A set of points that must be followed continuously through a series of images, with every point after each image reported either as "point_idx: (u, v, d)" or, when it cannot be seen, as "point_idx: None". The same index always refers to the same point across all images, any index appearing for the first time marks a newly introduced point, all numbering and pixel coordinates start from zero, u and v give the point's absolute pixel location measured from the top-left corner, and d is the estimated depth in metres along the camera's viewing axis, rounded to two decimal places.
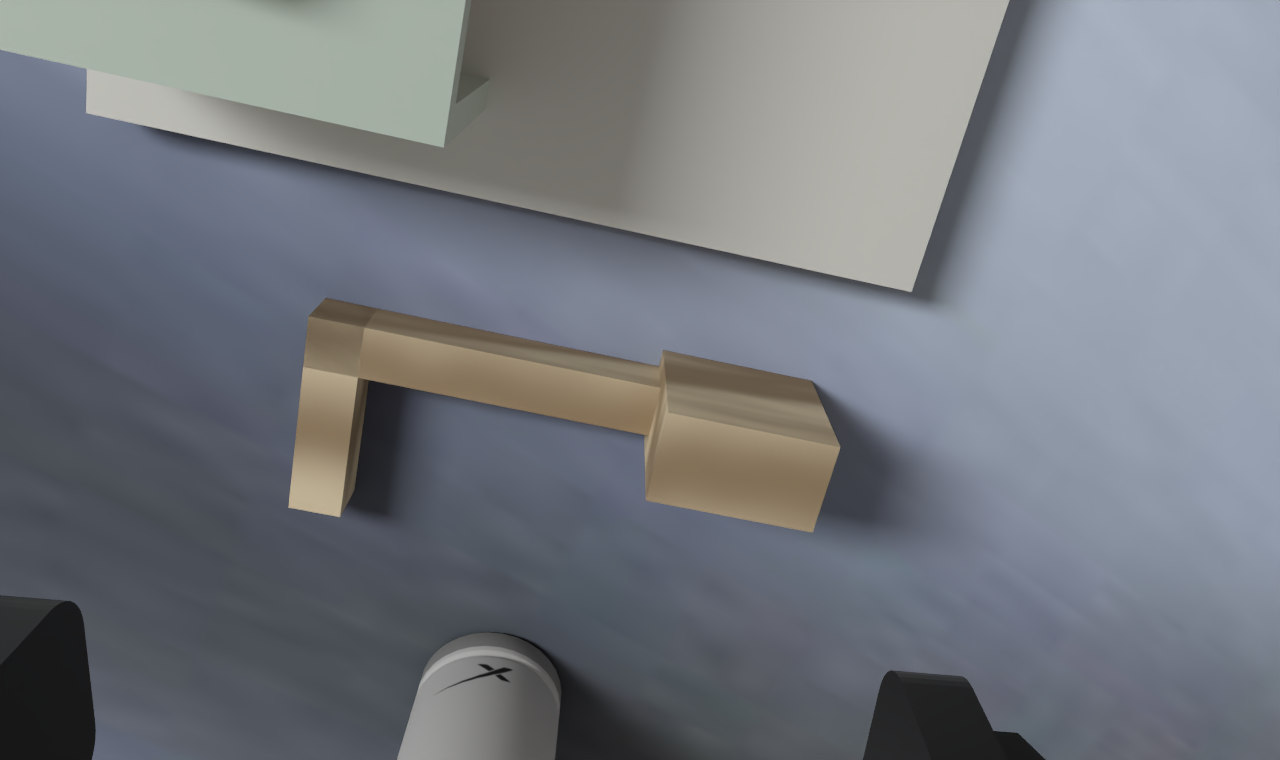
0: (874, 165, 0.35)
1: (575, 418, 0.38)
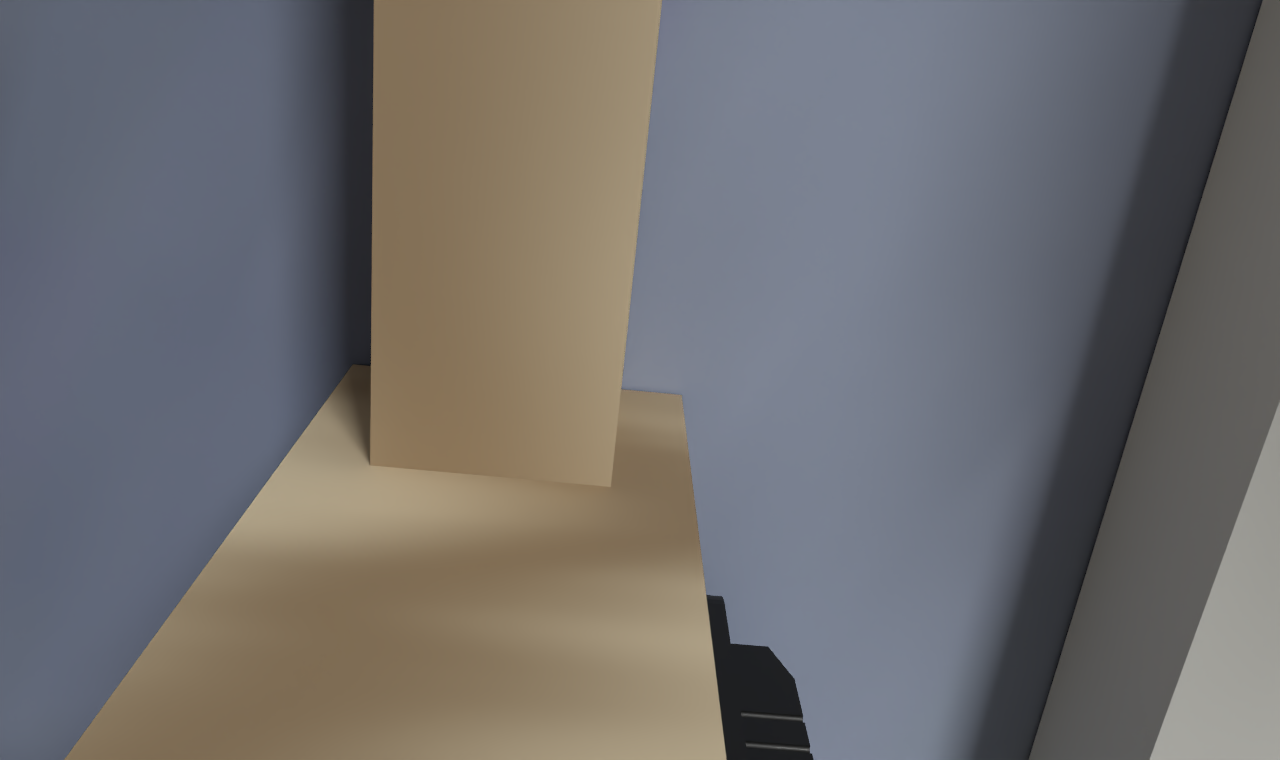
0: None
1: (387, 115, 0.07)
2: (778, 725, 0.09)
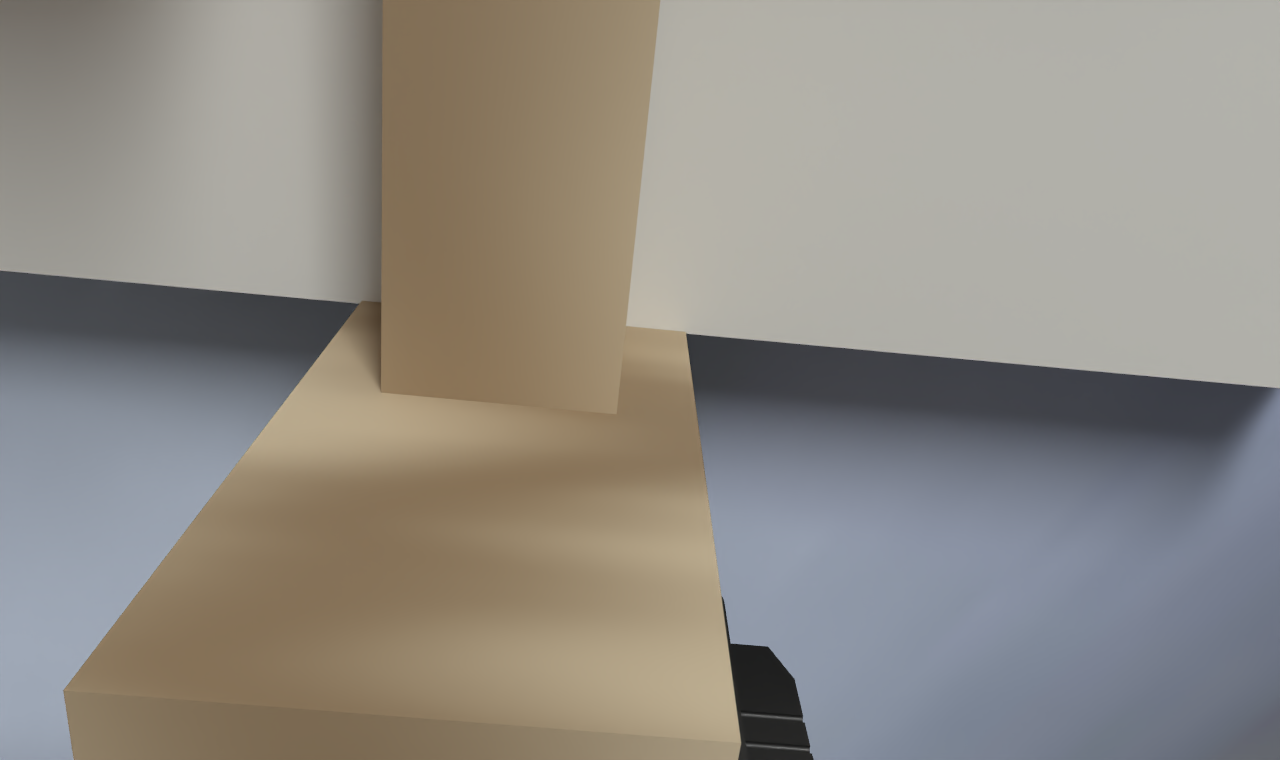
0: None
1: (396, 42, 0.07)
2: (778, 725, 0.09)
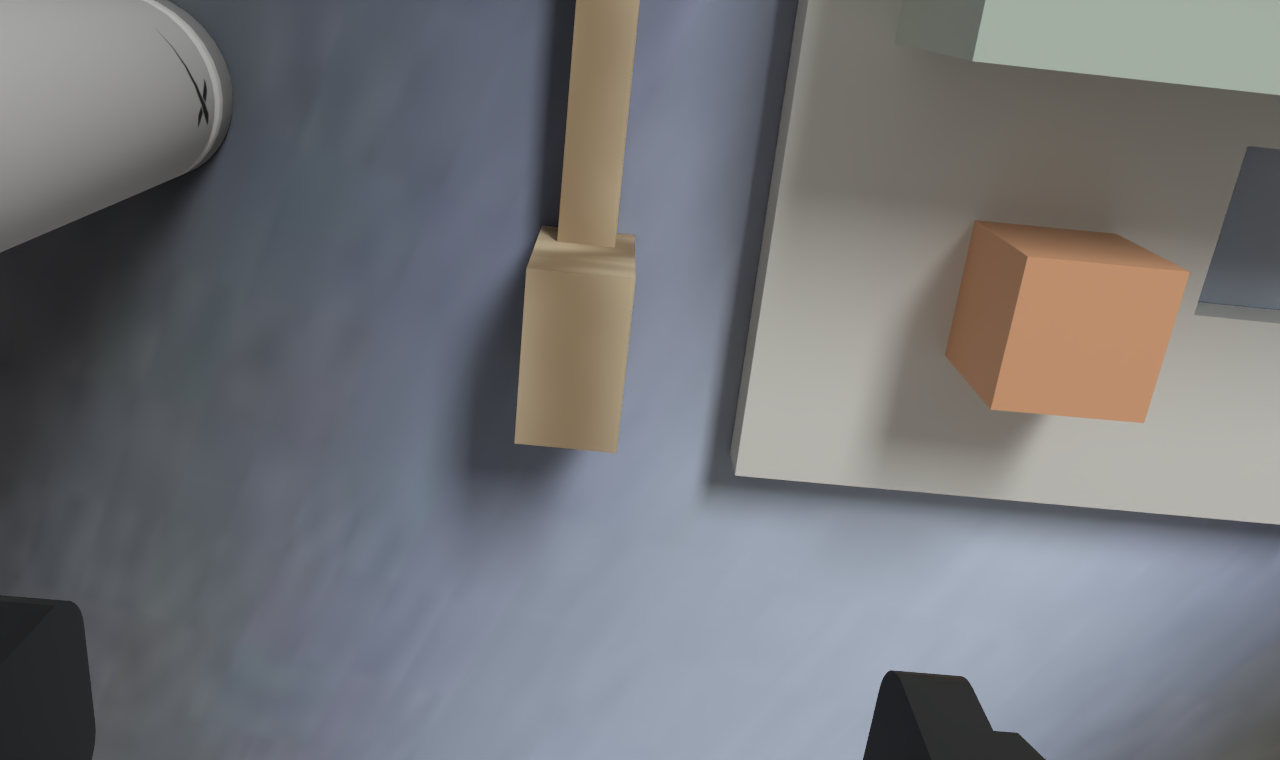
0: (852, 420, 0.38)
1: (566, 159, 0.34)
2: None
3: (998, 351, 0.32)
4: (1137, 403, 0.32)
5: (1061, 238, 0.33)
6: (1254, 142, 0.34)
